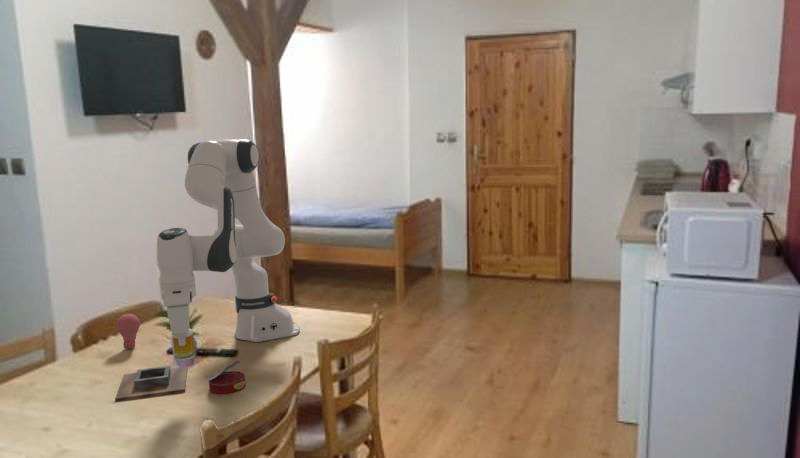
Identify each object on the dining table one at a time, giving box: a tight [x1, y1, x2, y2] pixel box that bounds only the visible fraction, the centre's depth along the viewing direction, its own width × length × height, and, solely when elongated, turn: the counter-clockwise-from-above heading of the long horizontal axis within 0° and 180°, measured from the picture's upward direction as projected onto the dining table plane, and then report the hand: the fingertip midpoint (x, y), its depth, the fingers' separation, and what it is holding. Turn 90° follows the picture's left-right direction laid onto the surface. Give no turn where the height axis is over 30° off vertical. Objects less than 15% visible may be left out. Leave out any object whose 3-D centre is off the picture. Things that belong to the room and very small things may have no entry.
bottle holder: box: [115, 365, 188, 402], centre depth 188 cm, size 18×18×3 cm
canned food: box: [208, 360, 246, 396], centre depth 183 cm, size 11×10×10 cm
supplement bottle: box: [171, 320, 196, 362], centre depth 174 cm, size 5×5×10 cm
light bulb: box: [116, 313, 141, 350], centre depth 217 cm, size 7×7×12 cm
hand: (183, 340), depth 174 cm, fingers closed on supplement bottle, 5 cm apart
